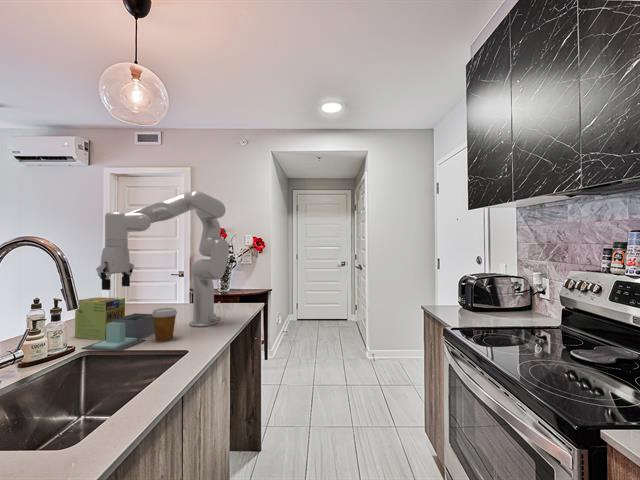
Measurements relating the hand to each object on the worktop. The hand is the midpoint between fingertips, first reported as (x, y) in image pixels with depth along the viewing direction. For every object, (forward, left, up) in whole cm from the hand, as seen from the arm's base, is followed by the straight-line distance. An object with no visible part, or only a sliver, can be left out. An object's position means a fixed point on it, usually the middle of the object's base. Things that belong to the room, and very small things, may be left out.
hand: (116, 287), depth 128 cm
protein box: (+16, -10, -22) cm, 29 cm away
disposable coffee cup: (-14, -10, -22) cm, 28 cm away
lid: (0, 0, -22) cm, 22 cm away
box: (+2, -13, -22) cm, 25 cm away
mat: (0, 0, -22) cm, 22 cm away
